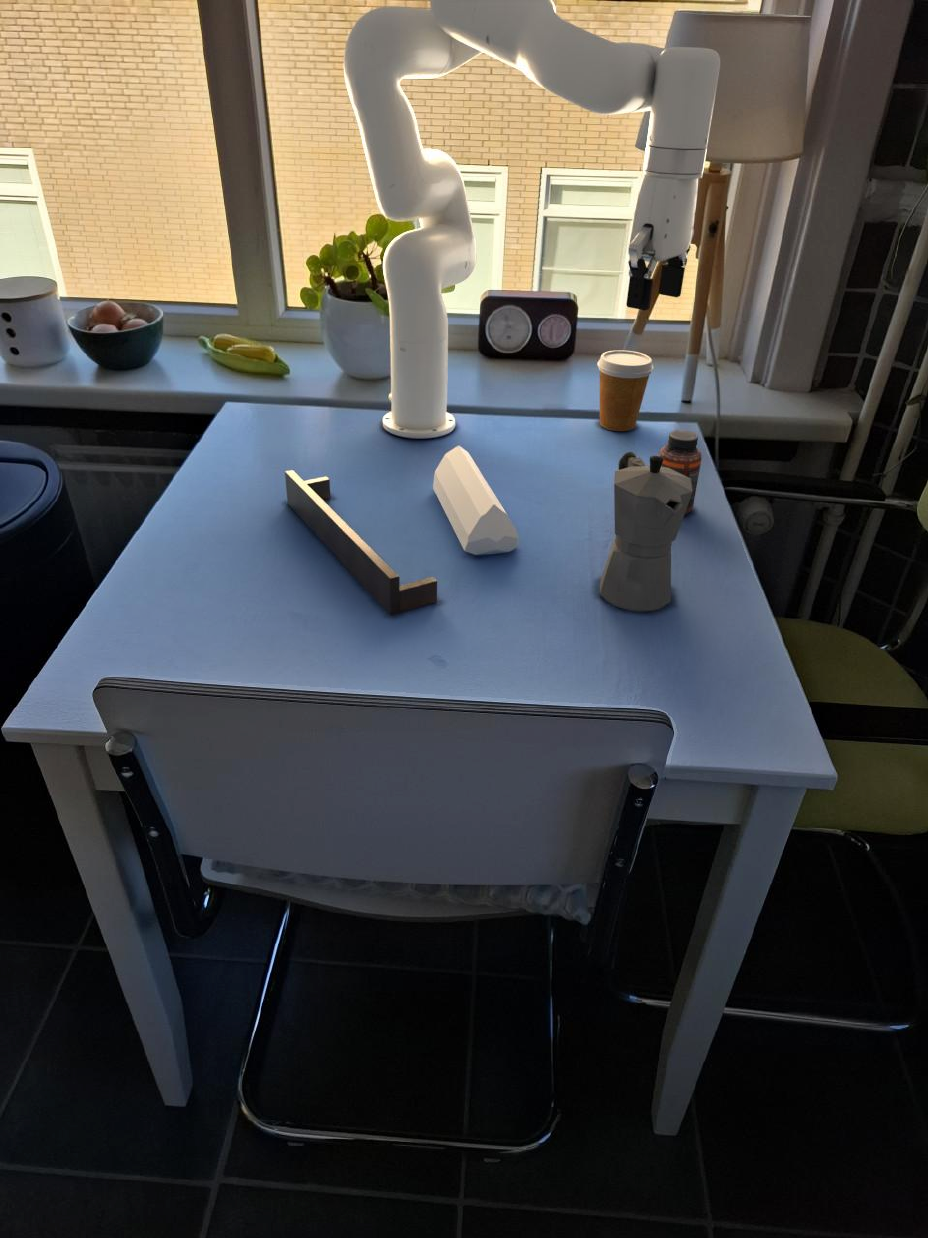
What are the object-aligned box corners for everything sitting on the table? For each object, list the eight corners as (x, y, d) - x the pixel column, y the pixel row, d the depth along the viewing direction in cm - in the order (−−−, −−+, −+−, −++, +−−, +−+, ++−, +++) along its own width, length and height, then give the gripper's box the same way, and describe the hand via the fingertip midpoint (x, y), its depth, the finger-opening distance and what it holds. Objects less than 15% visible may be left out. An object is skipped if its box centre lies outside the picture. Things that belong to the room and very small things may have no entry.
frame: (287, 503, 126) (284, 471, 123) (327, 495, 128) (325, 463, 126) (390, 615, 102) (390, 578, 99) (437, 602, 105) (437, 566, 102)
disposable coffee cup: (592, 413, 160) (600, 347, 154) (645, 418, 159) (655, 352, 152) (588, 431, 153) (596, 363, 146) (643, 437, 151) (653, 368, 145)
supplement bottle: (694, 503, 130) (708, 430, 124) (689, 520, 125) (703, 445, 119) (654, 496, 131) (666, 424, 125) (648, 512, 127) (659, 438, 121)
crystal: (539, 530, 113) (490, 457, 132) (494, 509, 109) (450, 437, 129) (508, 576, 115) (465, 498, 135) (463, 557, 112) (425, 479, 131)
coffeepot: (693, 617, 104) (722, 477, 94) (618, 626, 102) (640, 483, 92) (642, 555, 116) (663, 425, 106) (575, 561, 114) (590, 429, 104)
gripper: (676, 155, 119) (656, 286, 128) (615, 164, 107) (599, 308, 117) (728, 160, 115) (704, 295, 125) (671, 171, 104) (650, 318, 113)
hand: (653, 301), depth 121 cm, fingers open, 9 cm apart
